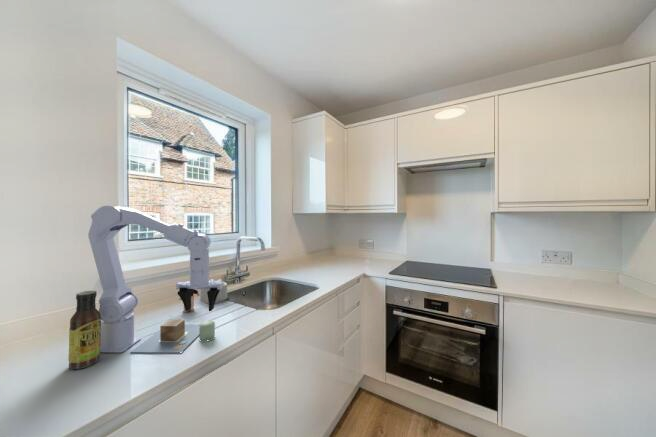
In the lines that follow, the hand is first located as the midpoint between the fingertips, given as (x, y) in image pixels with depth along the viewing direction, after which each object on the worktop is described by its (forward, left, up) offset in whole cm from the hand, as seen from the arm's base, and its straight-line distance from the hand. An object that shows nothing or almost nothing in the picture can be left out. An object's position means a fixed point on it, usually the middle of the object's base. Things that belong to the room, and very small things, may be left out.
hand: (199, 310), depth 82 cm
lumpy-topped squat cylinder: (-12, +37, -10) cm, 41 cm away
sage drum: (+2, 0, -10) cm, 10 cm away
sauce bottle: (-25, -14, -10) cm, 30 cm away
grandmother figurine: (-16, +23, -10) cm, 29 cm away
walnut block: (-9, -1, -9) cm, 12 cm away
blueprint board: (-9, 0, -10) cm, 13 cm away
